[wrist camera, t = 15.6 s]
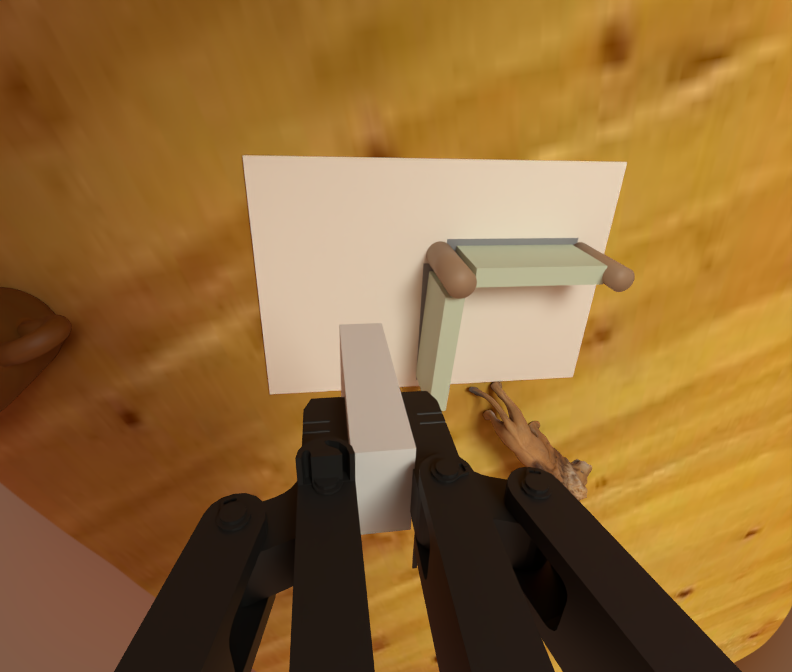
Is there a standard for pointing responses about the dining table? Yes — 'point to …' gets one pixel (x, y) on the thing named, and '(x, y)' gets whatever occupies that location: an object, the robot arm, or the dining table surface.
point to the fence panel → (438, 340)
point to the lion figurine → (534, 444)
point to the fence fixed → (524, 267)
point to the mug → (26, 340)
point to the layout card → (417, 259)
